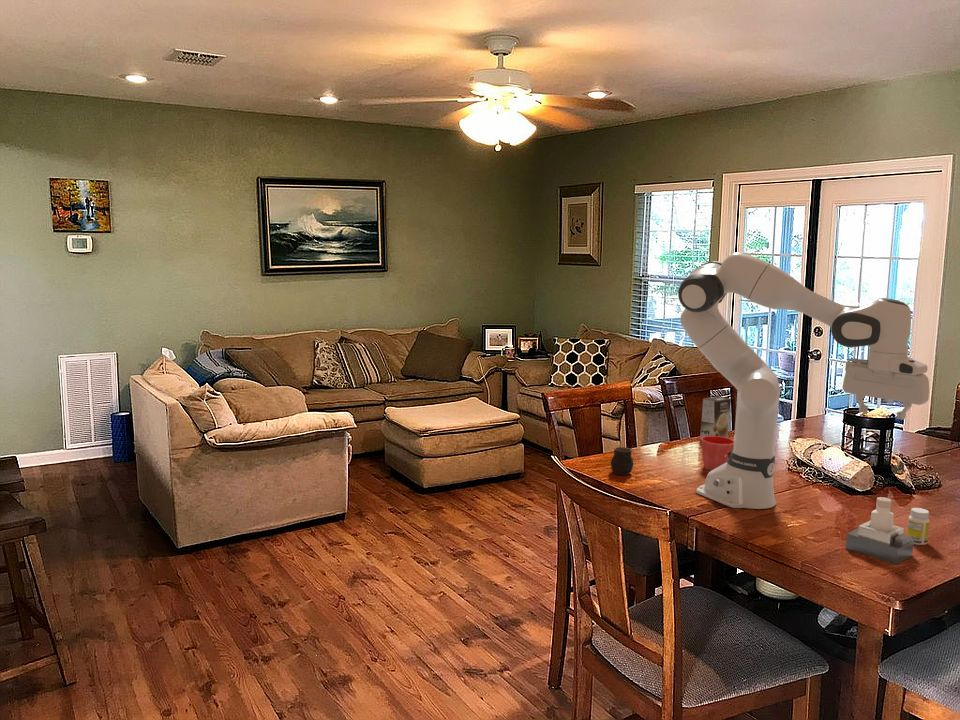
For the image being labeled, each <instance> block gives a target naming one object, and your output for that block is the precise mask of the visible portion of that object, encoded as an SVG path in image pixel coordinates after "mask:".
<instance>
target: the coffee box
mask: <svg viewBox="0 0 960 720" xmlns="http://www.w3.org/2000/svg"><path fill="white" fill-rule="evenodd" d="M731 400H732V399H731V398H729V397H723V396H712V397H711V396H709V397H704V398H702V409H701V424H700V435H699V436H700V437H699V440H700V441H701V439H702V437H705V436H719V437H725V438H729V427H730V416H731V414H730V413H731V402H732V401H731Z"/></svg>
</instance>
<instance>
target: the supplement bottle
mask: <svg viewBox="0 0 960 720" xmlns="http://www.w3.org/2000/svg"><path fill="white" fill-rule="evenodd" d="M929 515H930V511H929V510H928V509H924V508H921V507H912V508H911V509H910V515H908V518H907V527H906V528H907V531H906V535H908V536H910V539H912V540H914V543H913V545H917V546H924V545H925V546H926V545H927V544H928V543H929V532H930V524H931V523H930V522H931V521H930V518H929Z"/></svg>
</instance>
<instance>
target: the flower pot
mask: <svg viewBox="0 0 960 720" xmlns="http://www.w3.org/2000/svg"><path fill="white" fill-rule="evenodd" d="M700 441H701V452H702V462H703V463H702V465H703V467H704V468H705V469H706V470H707V471H712V470H714V469H715V468H717V467H719V466H721V465H722V464H724V463H726V462H727V460H728V457H725V456H726V455H727V454H726V453H729V452H730V451H733V449H734V439H731V438H729V437H728V438H725V437H719V436H705V437H702V439H701V440H700ZM725 454H726V455H725Z"/></svg>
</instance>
